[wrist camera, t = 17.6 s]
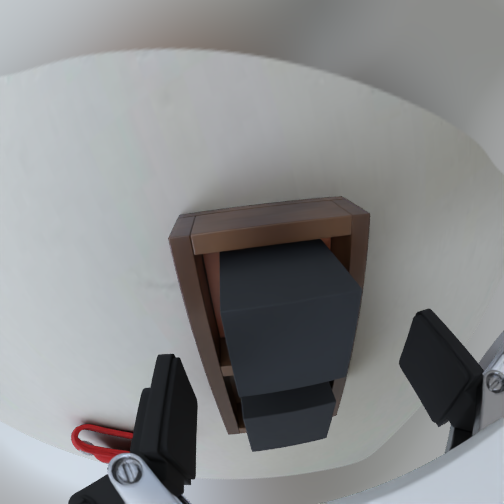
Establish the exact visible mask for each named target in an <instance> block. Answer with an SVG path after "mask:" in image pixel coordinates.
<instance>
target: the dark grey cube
mask: <svg viewBox="0 0 504 504" xmlns="http://www.w3.org/2000/svg"><path fill="white" fill-rule="evenodd" d="M241 404H242V413H243V420H244V424H245V428H246V431H247V435H248V439H249V442H250V446H251V449H252V451H253V452H254V451H262V450H269V449H275V448H281V447H287V446H292V445H297V444H302V443H307V442H311V441H316V440H320V439H324V438H326V437H327V433H328V430H329V427H330V423H331V420H332V416H333V412H334V409H335V405H336V399H335V396H334V394H333V391H332V389H331V386H330V384H329V381H328V382H323V383H319V384H315V385H310V386H305V387H300V388H295V389H290V390H284V391H279V392H273V393H266V394H260V395H252V396H245V397H241Z"/></svg>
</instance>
